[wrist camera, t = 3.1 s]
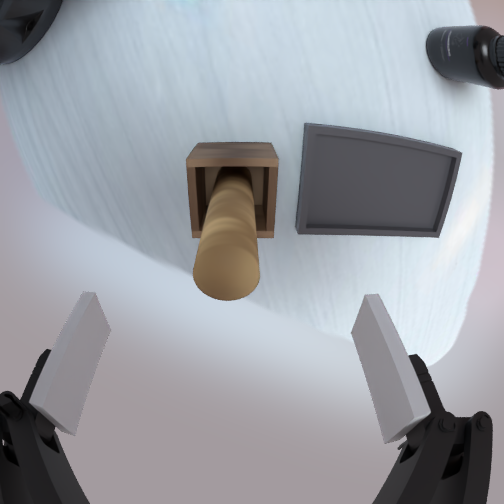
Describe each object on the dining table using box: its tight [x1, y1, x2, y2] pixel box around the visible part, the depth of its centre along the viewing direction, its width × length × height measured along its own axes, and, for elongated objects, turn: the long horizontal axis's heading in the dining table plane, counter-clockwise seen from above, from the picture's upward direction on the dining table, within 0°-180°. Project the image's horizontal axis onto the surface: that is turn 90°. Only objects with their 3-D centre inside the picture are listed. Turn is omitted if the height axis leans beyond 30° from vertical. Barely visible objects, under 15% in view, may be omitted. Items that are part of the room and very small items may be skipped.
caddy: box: [186, 142, 278, 238], centre depth 26 cm, size 7×7×6 cm
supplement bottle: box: [427, 26, 504, 89], centre depth 15 cm, size 7×7×12 cm
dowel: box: [193, 166, 260, 301], centre depth 22 cm, size 4×4×16 cm
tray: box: [295, 123, 462, 238], centre depth 29 cm, size 20×12×2 cm, turn 89°
